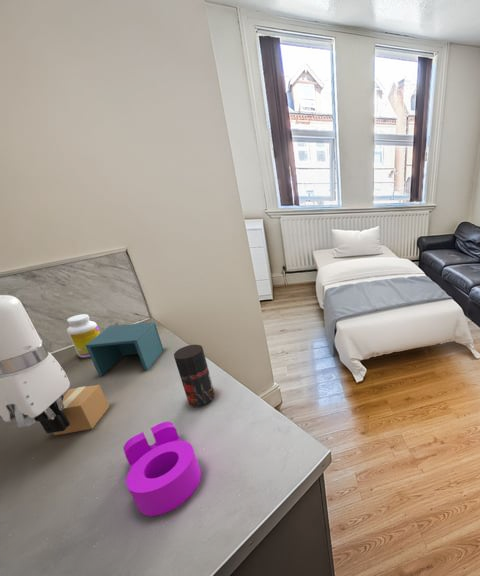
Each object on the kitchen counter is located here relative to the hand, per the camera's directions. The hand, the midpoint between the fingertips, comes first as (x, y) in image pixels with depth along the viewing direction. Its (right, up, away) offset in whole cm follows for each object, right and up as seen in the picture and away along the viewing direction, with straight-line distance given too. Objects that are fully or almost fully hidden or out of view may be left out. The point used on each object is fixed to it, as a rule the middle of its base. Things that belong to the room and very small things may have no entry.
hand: (58, 429), depth 62 cm
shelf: (-8, +7, +27) cm, 29 cm away
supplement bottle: (-25, +9, +31) cm, 41 cm away
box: (-2, -1, +7) cm, 7 cm away
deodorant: (+22, +1, +14) cm, 26 cm away
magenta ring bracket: (+27, -7, -5) cm, 29 cm away
